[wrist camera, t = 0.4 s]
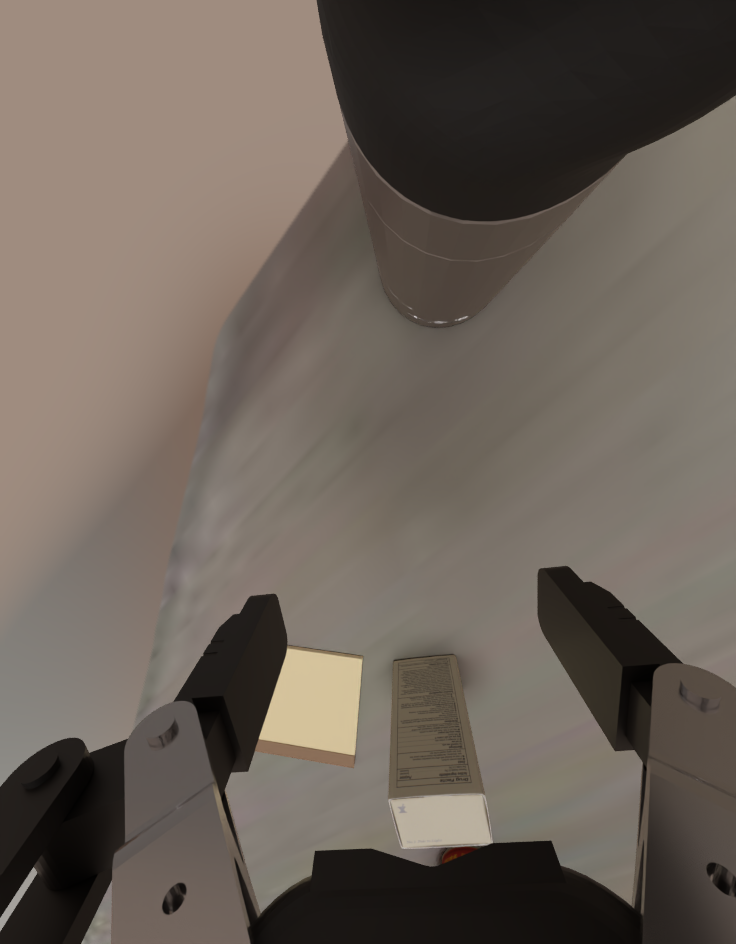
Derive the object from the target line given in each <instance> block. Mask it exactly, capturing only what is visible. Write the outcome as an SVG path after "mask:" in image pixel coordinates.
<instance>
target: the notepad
mask: <svg viewBox="0 0 736 944" xmlns="http://www.w3.org/2000/svg"><path fill="white" fill-rule="evenodd" d="M362 661H363V656H358V655H351V654H344V653H337V652H330V651H323V650H316V649H309V648H302V647H295V646H288V645H287V653H286V657H285V660H284V663H283V666H282V669H281V672H280V675H279V678H278V681H277V684H276V687H275V691H274V694H273V697H272V700H271V703H270V706H269V709H268V712H267V715H266V718H265V721H264V724H263V727H262V730H261V733H260V736H259V739H258V743H257V746H256V749H255V751H257V752H263V753H269V754H275V755H280V756H286V757H292V758H298V759H303V760H309V761H315V762H321V763H327V764H332V765H338V766H344V767H350V768H354V762H355V749H356V737H357V724H358V712H359V699H360V686H361V674H362Z"/></svg>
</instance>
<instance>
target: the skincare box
mask: <svg viewBox="0 0 736 944" xmlns="http://www.w3.org/2000/svg"><path fill="white" fill-rule="evenodd" d="M388 800H389V804H390V809H391V813H392V817H393V821H394V825H395V829H396V833H397V836H398V839H399V842H400V846H401V848H402V849H409V848H410V849H414V848H439V847H441V848H442V847H461V846H483V845H488V844H491V843H493V840H492V834H491V826H490V820H489V813H488V808H487V802H486V797H485V792H484V788H483V783H482V779H481V774H480V769H479V765H478V760H477V755H476V750H475V745H474V741H473V736H472V731H471V726H470V722H469V717H468V712H467V707H466V702H465V698H464V693H463V688H462V683H461V678H460V673H459V669H458V664H457V659H456V656H455V655H445V656H434V657H425V658H414V659H406V660H399V661H394V662H393V681H392V710H391V739H390V768H389V795H388Z"/></svg>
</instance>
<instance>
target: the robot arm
mask: <svg viewBox="0 0 736 944" xmlns="http://www.w3.org/2000/svg"><path fill="white" fill-rule="evenodd" d="M317 5H318V12H319V17H320V23H321V29H322V35H323V39H324V43H325V47H326V51H327V56H328V60H329V64H330V68H331V72H332V76H333V80H334V85H335V89H336V93H337V96H338V100H339V104H340V108H341V112H342V116H343V121H344V125H345V129H346V133H347V137H348V142H349V146H350V150H351V154H352V158H353V163H354V167H355V171H356V174H357V178H358V182H359V186H360V191H361V195H362V199H363V204H364V208H365V212H366V217H367V221H368V225H369V229H370V234H371V238H372V242H373V247H374V251H375V255H376V260H377V265H378V269H379V273H380V277H381V281H382V284H383V287H384V290H385V293H386V294H387V296H388V298H389V300H390V302H391V303H392V304H393V306H394V307H395V308H396V309H397V310H398V311H399V312H400V313H401V314H402V315H404V316H405V317H406V318H408V319H409V320H410V321H413V322H415V323H418V324H420V325H423V326H429V327H434V328H436V327H449V326H453V325H456V324H460V323H462V322H464V321H466V320H468V319H470V318H472V317H473V316H475V315H476V314H477V313H478V312H480V311H481V310H482V309H483V308H484V307H485V306H486V305H487V304H488V303H489V302H490V301H491V300H492V299H493V298H494V297H495V296H496V295H497V294H498V293H499V292H500V290H501V289H502V288H503V287H504V286H505V285H506V284H507V283H508V282H509V281H510V280H511V279H512V278H513V277H514V275H515V274H516V273H517V272H518V271H519V270H520V269H521V268H522V267H523V266H524V265H525V264H526V263H527V261H528V260H529V259H530V258H531V257H532V256H533V255H534V254H535V253H536V252H537V251H538V250H539V249H540V248H541V246H542V245H543V244H544V243H545V242H546V241H547V240H548V239H549V238H550V237H551V236H552V235H553V234H554V232H555V231H556V230H557V229H558V228H559V227H560V226H561V225H562V224H563V223H564V222H565V221H566V220H567V218H568V217H569V216H570V215H571V214H572V213H573V212H574V211H575V210H576V209H577V208H578V207H579V205H580V204H581V203H582V202H583V201H584V200H585V199H586V198H587V196H588V195H589V194H590V193H591V192H592V191H593V190H594V189H595V188H596V187H597V186H598V185H599V184H600V182H601V181H602V180H603V179H604V178H605V177H606V176H607V175H608V174H609V173H610V172H611V171H612V170H613V168H614V167H615V166H616V165H617V164H618V163H619V162H620V161H621V160H622V159H623V158H624V157H625V156H626V154H628V153H630V152H632V151H635V150H637V149H639V148H642V147H644V146H646V145H648V144H651V143H653V142H655V141H657V140H659V139H661V138H663V137H665V136H667V135H670V134H672V133H674V132H676V131H678V130H679V129H681V128H683V127H685V126H687V125H688V124H690V123H692V122H694V121H696V120H697V119H699V118H701V117H703V116H704V115H706V114H707V113H709V112H710V111H712V110H714V109H715V108H717V107H718V106H720V105H722V104H723V103H725V102H726V101H728V100H729V99H731V98H732V97H733V96H735V95H736V0H317ZM538 619H539V623H540V627H541V629H542V632H543V634H544V636H545V637H546V639H547V641H548V642H549V644H550V646H551V647H552V649H553V651H554V652H555V654H556V655H557V657H558V659H559V660H560V662H561V664H562V665H563V667H564V669H565V670H566V672H567V673H568V675H569V677H570V678H571V680H572V682H573V683H574V685H575V687H576V688H577V690H578V691H579V693H580V695H581V696H582V698H583V700H584V701H585V703H586V705H587V706H588V708H589V709H590V711H591V713H592V714H593V716H594V718H595V719H596V721H597V723H598V724H599V726H600V727H601V729H602V731H603V732H604V734H605V736H606V737H607V739H608V741H609V742H610V744H611V745H612V747H613V749H614V750H615V751H625V750H635V751H636V753H637V754H638V756H639V757H640V759H641V760H642V762H643V765H642V774H641V789H640V803H639V818H638V833H637V848H636V862H635V874H634V884H633V895H632V906H631V905H629V904H628V903H627V902H626V901H625V900H623V899H622V898H621V897H619V896H618V895H616V894H615V893H614V892H612V891H611V890H609V889H608V888H607V887H605V886H603V885H602V884H600V883H598V882H596V881H595V880H593V879H591V878H589V877H588V876H586V875H583V874H581V873H579V872H577V871H574V870H572V869H570V868H566V867H563V866H560V863H559V861H558V858H557V855H556V852H555V850H554V847H553V844H552V841H533V842H510V843H491V844H488V845H486V846H484V847H481V848H479V849H477V850H474V851H472V852H469V853H467V854H465V855H462V856H460V857H458V858H455V859H453V860H451V861H448V862H446V863H443V864H441V865H439V866H435V867H429V866H425V865H421V864H418V863H415V862H412V861H409V860H406V859H402V858H399V857H396V856H393V855H390V854H387V853H384V852H380V851H377V850H374V849H349V850H326V851H315V855H314V862H313V870H312V876H309V877H307V878H305V879H303V880H301V881H300V882H298V883H296V884H295V885H293V886H291V887H290V888H288V889H287V890H286V891H285V892H283V893H282V894H281V895H280V896H278V897H277V898H276V899H275V900H274V901H273V902H272V903H271V904H270V905H269V906H268V907H267V908H266V909H265V910H264V911H263V912H262V913H261V912H260V909H259V906H258V903H257V899H256V896H255V893H254V890H253V887H252V884H251V880H250V877H249V873H248V870H247V866H246V863H245V859H244V855H243V852H242V848H241V844H240V841H239V837H238V833H237V830H236V826H235V822H234V819H233V815H232V811H231V808H230V804H229V800H228V797H227V794H226V791H225V787H226V785H227V782H228V779H229V777H230V774H231V772H248V770H249V767H250V764H251V761H252V758H253V755H254V752H255V749H256V746H257V743H258V739H259V736H260V733H261V730H262V727H263V724H264V721H265V718H266V715H267V712H268V709H269V706H270V703H271V700H272V697H273V694H274V691H275V687H276V684H277V681H278V678H279V675H280V672H281V669H282V666H283V663H284V660H285V657H286V653H287V633H286V629H285V625H284V621H283V617H282V613H281V609H280V605H279V600H278V597H277V596H276V594H266V595H256V596H250V597H249V598H248V600H247V602H246V604H245V605H244V607H243V609H242V611H241V612H240V614H234V615H232V616H231V617H230V618H229V619H228V620H227V621H226V622H225V623H224V624H222V625H221V626H220V627H219V629H218V630H217V632H216V634H215V635H214V637H213V639H212V640H211V644H209V645H208V647H207V648H206V650H205V652H204V653H203V654H204V655H203V656H201V658H200V660H199V661H198V663H197V664H196V666H195V668H194V669H193V671H192V673H191V674H190V676H189V677H188V679H187V681H186V682H185V684H184V686H183V687H182V689H181V690H180V692H179V694H178V695H177V697H176V698H175V700H174V702H172V703H169V704H166V705H164V706H162V707H160V708H158V709H156V710H155V711H153V712H152V713H151V714H149V715H148V716H147V717H146V718H144V719H143V720H142V721H141V722H140V723H139V724H138V725H137V726H136V728H135V729H134V730H133V732H132V733H131V735H130V736H129V738H128V739H126V740H123V741H121V742H118V743H115V744H112V745H110V746H107V747H104V748H102V749H99V750H96V751H93V752H91V753H89V752H88V750H87V748H86V746H85V744H84V742H83V741H82V740H81V739H79V738H67V739H63V740H60V741H57V742H55V743H53V744H51V745H49V746H47V747H45V748H43V749H42V750H40V751H38V752H37V753H36V754H34V755H33V756H31V757H30V758H28V759H27V760H26V761H25V762H24V763H22V764H21V765H20V766H19V767H18V768H17V769H16V770H15V771H14V772H13V773H12V774H11V775H10V776H9V777H8V779H7V780H6V781H5V782H4V783H3V784H2V786H1V787H0V917H1V916H2V914H3V913H4V911H5V909H6V908H7V907H8V905H9V903H10V902H11V900H12V899H13V897H14V896H15V894H16V893H17V891H18V890H19V888H20V887H21V885H22V884H23V882H24V880H25V879H26V878H27V876H28V874H29V873H30V871H31V870H32V868H33V867H34V868H35V869H36V871H37V875H36V876H35V878H34V880H33V881H32V883H31V884H30V886H29V887H28V889H27V891H26V892H25V894H24V895H23V897H22V898H21V900H20V902H19V903H18V905H17V906H16V908H15V909H14V911H13V913H12V914H11V916H10V917H9V919H8V921H7V922H6V924H5V925H4V927H3V928H2V930H1V931H0V944H81V943H82V941H83V938H84V936H85V934H86V932H87V930H88V928H89V926H90V924H91V922H92V920H93V918H94V916H95V914H96V912H97V910H98V907H99V905H100V903H101V901H102V899H103V897H104V895H105V893H106V891H107V889H108V887H109V885H110V883H111V881H112V923H111V944H736V688H735V687H734V686H733V685H731V684H730V683H729V682H727V681H725V680H724V679H722V678H721V677H719V676H717V675H715V674H713V673H711V672H709V671H706V670H704V669H701V668H698V667H695V666H691V665H687V664H683V663H682V662H681V661H680V660H679V659H678V658H677V657H676V656H675V655H674V654H673V653H672V652H671V651H670V650H669V649H668V648H667V647H666V646H665V645H663V644H662V643H661V642H660V641H659V640H658V639H657V638H656V637H655V636H654V635H653V634H652V633H651V632H650V631H649V630H648V629H647V628H646V627H645V626H644V625H643V624H642V623H641V622H640V621H639V620H636V617H635V616H634V615H633V614H632V613H631V612H630V611H629V610H628V609H627V608H626V609H625V608H624V605H623V604H622V603H621V602H620V601H619V600H618V599H617V598H616V597H615V596H613V595H612V594H611V593H610V592H609V591H607V590H605V589H603V588H602V587H600V586H598V585H596V584H594V583H593V582H583V581H582V580H581V579H580V578H579V577H578V576H577V575H576V574H575V573H574V572H573V571H572V569H571V568H569V567H568V566H561V567H551V568H541V569H539V571H538Z"/></svg>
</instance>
